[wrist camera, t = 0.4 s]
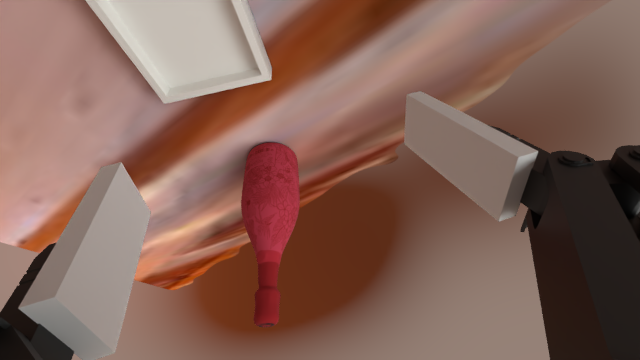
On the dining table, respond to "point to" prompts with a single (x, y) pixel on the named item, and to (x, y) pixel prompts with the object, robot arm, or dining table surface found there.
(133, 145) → the dining table surface
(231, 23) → the white tray
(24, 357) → the robot arm
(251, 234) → the wine bottle
